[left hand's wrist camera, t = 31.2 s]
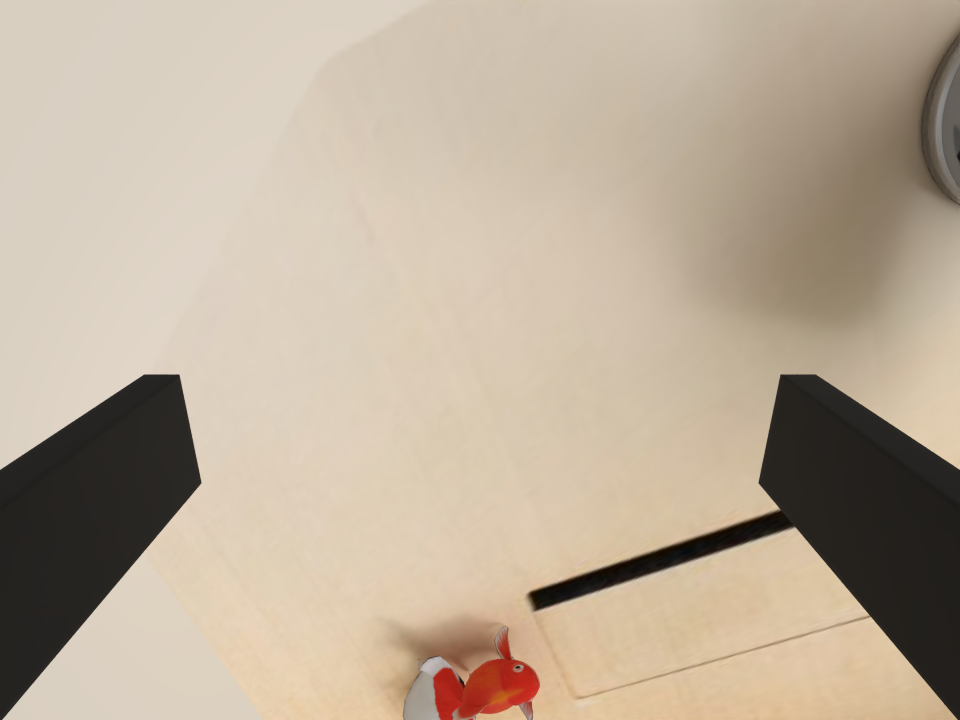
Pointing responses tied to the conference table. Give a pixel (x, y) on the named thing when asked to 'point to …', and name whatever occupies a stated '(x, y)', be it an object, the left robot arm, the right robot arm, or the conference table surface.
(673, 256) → the conference table surface
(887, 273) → the conference table surface
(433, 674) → the fish
